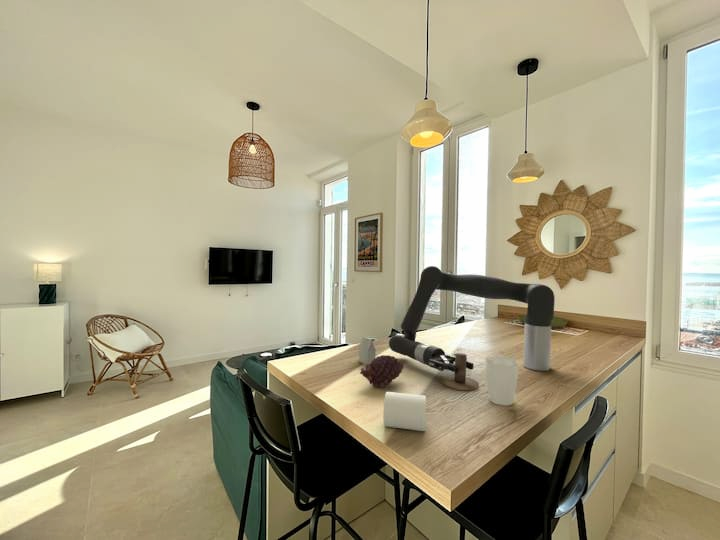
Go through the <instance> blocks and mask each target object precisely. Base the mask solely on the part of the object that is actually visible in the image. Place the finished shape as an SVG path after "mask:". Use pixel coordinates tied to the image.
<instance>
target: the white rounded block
mask: <svg viewBox="0 0 720 540" xmlns="http://www.w3.org/2000/svg"><path fill="white" fill-rule="evenodd" d="M382 417H383V418H382V419H383V423H382V424H383V426H384V427H387V428H395V429H402V430H403V429H404V430H410V431H411V430H412V431H419V432H426V430H427V429H426V428H427V427H426V425H427V395H425V394H424V395H421V394H412V393H402V392H393V391H386V392H385V393H384V401H383V416H382Z"/></svg>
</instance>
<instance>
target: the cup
mask: <svg viewBox="0 0 720 540" xmlns="http://www.w3.org/2000/svg"><path fill="white" fill-rule="evenodd" d="M484 371H485V379H486V388H487V395H488V396H487V397H488V400H489V401H490V402H491V403H493V404H496V405H498V406H503V407H504V406H506V407H507V406H511V405H513V403H514V400H515V393H516V389H517V383H518V378H519V363H518V361H517V360H514V359H512V358H509V357H503V356H488V357H486V359H485V367H484Z"/></svg>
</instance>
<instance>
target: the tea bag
mask: <svg viewBox="0 0 720 540" xmlns="http://www.w3.org/2000/svg"><path fill="white" fill-rule="evenodd" d="M376 354H377V353H376V348H375V345H374V342H373V339H371V338H369V337H366V336H362V339H361V342H360V344H359V346H358V362H359V363H361V364H363V365H364V366H366V364H371V362H372V361H373V359H374V358H376Z"/></svg>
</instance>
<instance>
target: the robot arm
mask: <svg viewBox="0 0 720 540" xmlns="http://www.w3.org/2000/svg"><path fill="white" fill-rule="evenodd" d="M436 290H439V291H447V292H448V291H450V292H456V293H458V294H462V295H467V296H472V297H476V298H482V299H488V300H490V299H491V300H510V301H511V300H512V301H515V302H518V303H519V302H520V303H524V304H527V310H526V311H527V312H526V315H525V317H524V330H523V331H524V334H523V339H524V340H523V358H522V359H523V363H522V365H523V366H524V368H526V369H530V370H534V371H539V372H546V371H550V370H551V369H550V368H551V353H552V351H551V349H552V348H551V347H552V345H551V344H552V343H551V342H552V341H551V340H552V322H553V319H554V314H555V300H556V299H555V294H554V293H555V292H554V291H553V289H552V288H551V287H549V286H548V285H545V284H539V283H522V282H513V281H508V280H505V279H502V278H498V277H495V276H494V277H493V276H489V275H483V274H473V273H472V274H452V273H447V272H443V271H442V270H441V269H440V268H439V267H438V266H435V265H430V266H427V267H425V268H424V269H423V270H422V272H421V274H420V278H419V282H418V287H417V290H416V292H415V294H414V297H413V299H412V300H411V304H410V305H409V307H408V309H407V310H406V313H405V316H404V317H403V319H402V321H401V324H400V329H401V330H402V331H403V332H404V336H402V335H398V334H395V335H392V336H391V337H390V338H389V340H388V347H389V349H390V350H391V351H392V352H394V353H396V354H400V355H402V356H406V357H408V358H410V359H412V360H414V361H417V362H419V363H421V364H423V365H426V366H428V367H429V368H433V369H435V370H439V371H440V372H444V371H450V372H452V373H454V374H455V373H459V372H460V367H459V366H456V365H455V354H456V353H454V354H453V355H451V354H447V353H445V350H444V349H443V348H440V347H437V346H435V345H432V344H427V343H424V342H419V341H416V337H417V332H418V329H419V327H420V325H421V323H422V321H423V317H424V316H425V313H426V310H427V307H428V304H429V302H430V300H431V297H432V296H433V295H434V293H435V291H436ZM467 359H468V358H466V369H467V370H469V371H470V370H471V371H472V370H474V366H475V365H474V362H471V361H468V360H467Z"/></svg>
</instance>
